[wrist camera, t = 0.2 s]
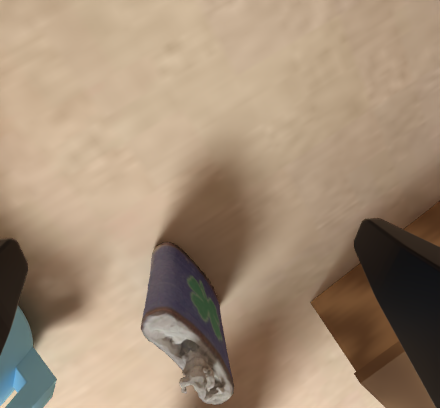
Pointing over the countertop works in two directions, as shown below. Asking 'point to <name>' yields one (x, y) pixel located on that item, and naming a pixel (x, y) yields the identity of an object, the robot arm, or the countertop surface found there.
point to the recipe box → (376, 331)
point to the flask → (187, 323)
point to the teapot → (24, 369)
